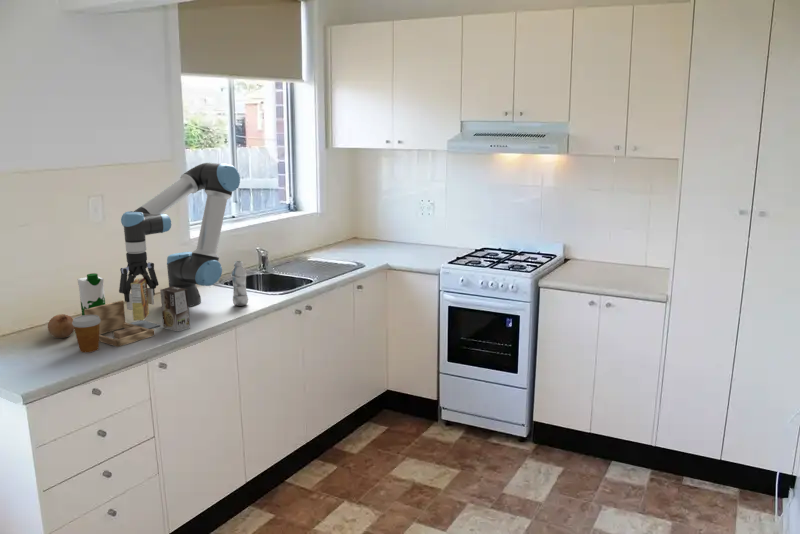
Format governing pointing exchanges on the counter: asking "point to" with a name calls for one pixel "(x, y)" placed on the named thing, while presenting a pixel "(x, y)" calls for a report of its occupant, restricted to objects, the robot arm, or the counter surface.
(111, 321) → the rack
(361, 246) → the counter surface
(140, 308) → the candy box
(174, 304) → the coffee box
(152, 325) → the mat
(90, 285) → the milk carton
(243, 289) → the plastic bottle
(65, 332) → the onion
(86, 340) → the disposable coffee cup
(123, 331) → the offcut upper
